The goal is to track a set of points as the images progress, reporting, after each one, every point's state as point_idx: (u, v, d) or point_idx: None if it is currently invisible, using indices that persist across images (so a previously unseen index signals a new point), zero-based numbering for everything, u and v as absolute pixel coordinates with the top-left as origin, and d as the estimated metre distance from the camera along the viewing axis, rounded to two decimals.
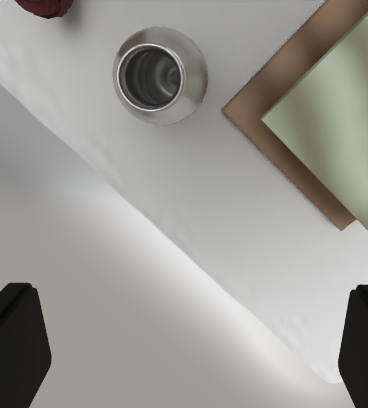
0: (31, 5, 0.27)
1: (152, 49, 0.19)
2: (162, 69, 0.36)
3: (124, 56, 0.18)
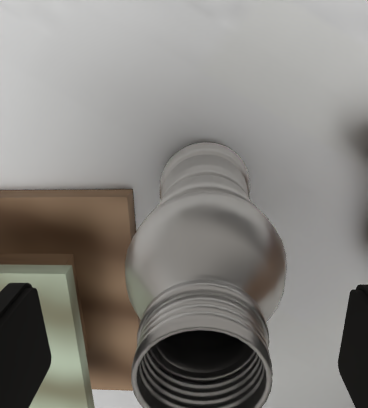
0: None
1: (236, 367, 0.10)
2: None
3: (268, 380, 0.09)
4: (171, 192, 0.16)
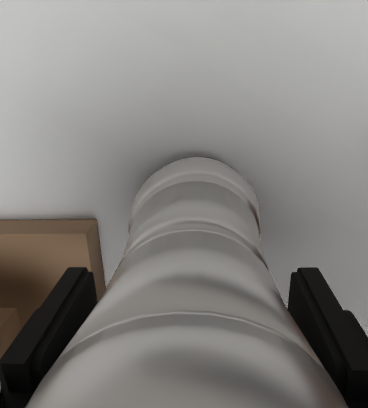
0: None
1: None
2: None
3: None
4: (126, 272, 0.09)
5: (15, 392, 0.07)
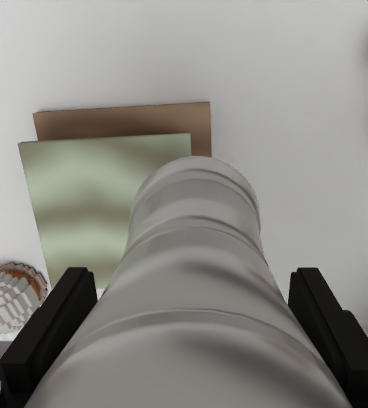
0: None
1: None
2: None
3: None
4: (127, 270, 0.09)
5: (15, 392, 0.07)
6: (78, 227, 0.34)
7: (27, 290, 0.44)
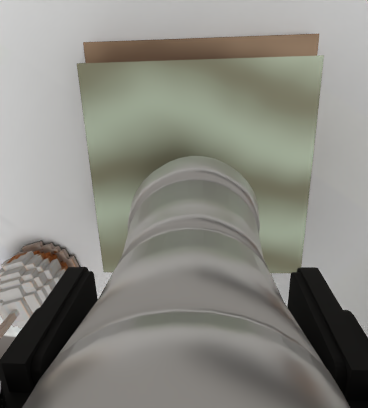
0: None
1: None
2: None
3: None
4: (125, 270, 0.09)
5: (15, 392, 0.07)
6: None
7: (61, 275, 0.35)
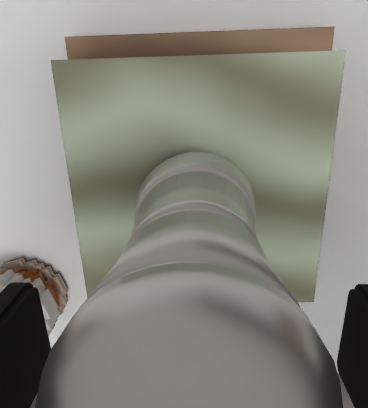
0: None
1: None
2: None
3: None
4: (136, 243, 0.10)
5: None
6: None
7: (44, 297, 0.32)
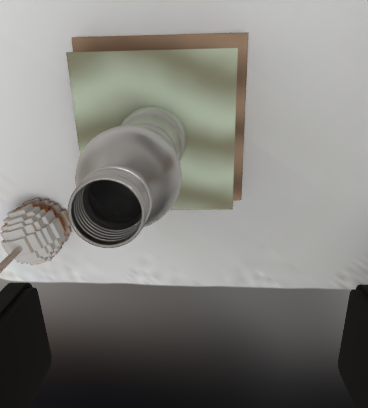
0: None
1: (136, 221, 0.18)
2: None
3: (143, 211, 0.16)
4: None
5: None
6: None
7: (55, 222, 0.45)
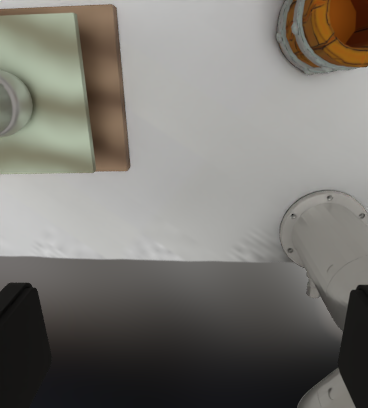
0: None
1: None
2: None
3: None
4: None
5: None
6: None
7: None
